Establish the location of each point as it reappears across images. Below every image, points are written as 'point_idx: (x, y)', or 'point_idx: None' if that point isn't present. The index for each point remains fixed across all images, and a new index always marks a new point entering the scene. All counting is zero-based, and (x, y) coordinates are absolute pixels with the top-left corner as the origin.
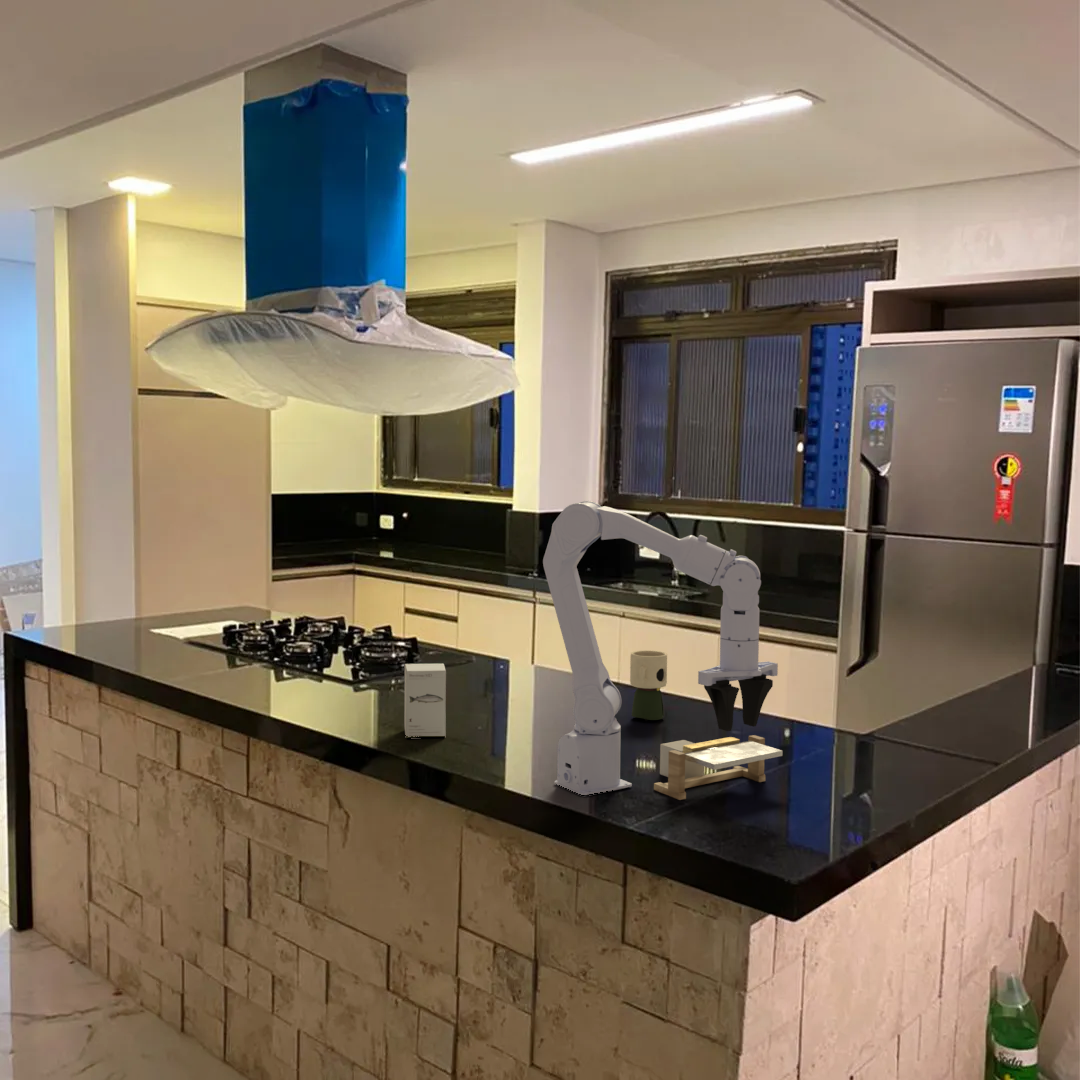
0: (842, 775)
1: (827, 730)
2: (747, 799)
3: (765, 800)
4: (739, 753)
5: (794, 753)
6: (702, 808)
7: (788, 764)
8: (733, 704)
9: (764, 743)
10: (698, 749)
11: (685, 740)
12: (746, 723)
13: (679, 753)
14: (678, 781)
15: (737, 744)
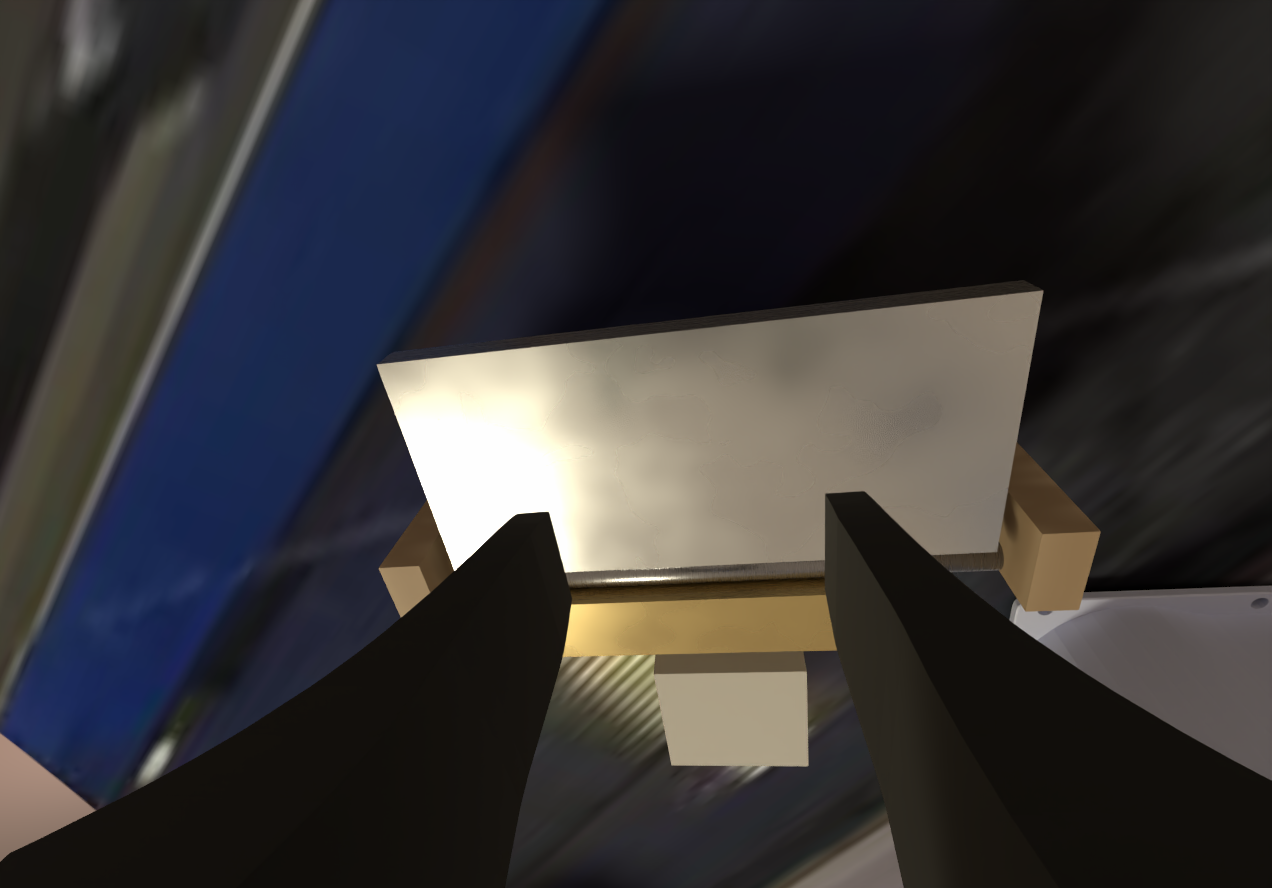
0: (104, 362)
1: (19, 731)
2: (689, 267)
3: (618, 214)
4: (678, 431)
5: (205, 626)
6: (988, 246)
7: (276, 551)
8: (954, 674)
9: (394, 548)
10: None
11: (672, 757)
12: (564, 581)
13: (1069, 551)
14: (1018, 444)
15: (571, 568)
